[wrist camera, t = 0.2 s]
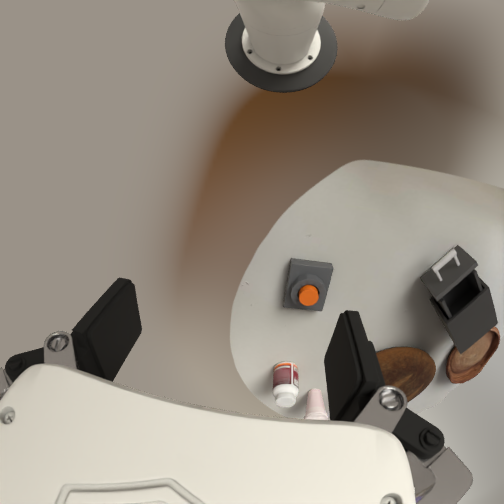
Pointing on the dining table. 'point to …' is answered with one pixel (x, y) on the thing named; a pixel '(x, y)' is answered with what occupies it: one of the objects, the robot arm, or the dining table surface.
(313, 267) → the control block
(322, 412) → the smoothie
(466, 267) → the fryer drawer
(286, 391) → the pill bottle
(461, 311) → the grey drawer cabinet
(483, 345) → the basket
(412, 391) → the bread
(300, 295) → the button
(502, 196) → the dining table surface
